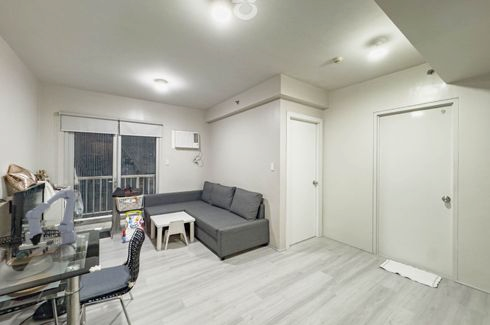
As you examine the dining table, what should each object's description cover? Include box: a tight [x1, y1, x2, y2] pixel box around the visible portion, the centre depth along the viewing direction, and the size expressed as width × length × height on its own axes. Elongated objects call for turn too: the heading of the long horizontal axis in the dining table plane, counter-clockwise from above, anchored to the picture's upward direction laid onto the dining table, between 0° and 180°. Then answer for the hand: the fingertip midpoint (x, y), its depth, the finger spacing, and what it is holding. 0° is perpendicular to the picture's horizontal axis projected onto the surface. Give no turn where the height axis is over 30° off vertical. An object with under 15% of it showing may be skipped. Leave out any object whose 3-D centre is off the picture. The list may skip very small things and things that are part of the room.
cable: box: [18, 239, 55, 251], centre depth 149 cm, size 18×3×3 cm, turn 114°
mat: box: [29, 244, 64, 253], centre depth 157 cm, size 22×6×1 cm, turn 114°
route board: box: [13, 246, 59, 261], centre depth 149 cm, size 21×9×4 cm, turn 114°
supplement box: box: [24, 230, 45, 245], centre depth 164 cm, size 7×7×13 cm
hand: (36, 244), depth 149 cm, fingers closed on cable, 2 cm apart
